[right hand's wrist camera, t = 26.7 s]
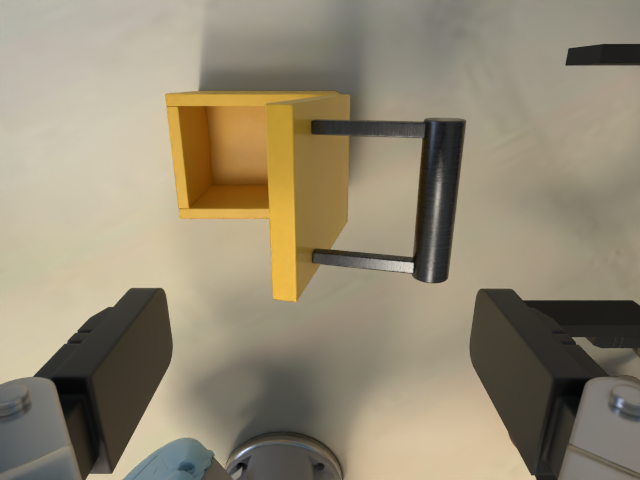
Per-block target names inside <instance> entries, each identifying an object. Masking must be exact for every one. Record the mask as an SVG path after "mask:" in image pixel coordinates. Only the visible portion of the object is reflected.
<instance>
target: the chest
mask: <svg viewBox="0 0 640 480" xmlns="http://www.w3.org/2000/svg"><path fill="white" fill-rule="evenodd" d="M331 94H340V93H338V92H337V91H192V92H181V93H169V94H165V98H166V105H167V114H168V122H169V131H170V139H171V148H172V156H173V165H174V173H175V182H176V190H177V199H178V207H179V215H180V218H181V219H270V216H269V192H268V169H267V145H266V121H265V104H266V103H273V102H280V101H288V100H295V99H302V98H310V97H317V96H324V95H331Z"/></svg>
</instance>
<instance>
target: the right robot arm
mask: <svg viewBox="0 0 640 480" xmlns="http://www.w3.org/2000/svg"><path fill="white" fill-rule="evenodd" d="M172 349H173V342H172V334H171V327H170V320H169V313H168V306H167V298H166V294H165V291H164V290H163V289H162V288H131V289H129V290H128V291H127V293H126V294H125V295H124V296H123V297H122V298H121V299H120V300H119V301H118V302H117V304H116V305H115V306H114V307H108V308H106V309H104V310H103V311H101V312H99V313H98V314H96V315H94V316H92V317H91V318H89V319H88V320H87V321H86V322H85V323H84V325H83V326H82V327H81V328H80V329H79V330H78V333H75V334H74V335H73V336H72V337H71V338H70V339H69V340H68V342H67V344H64V345H63V346H62V347H61V348H60V349H59V350H58V351H57V352H56V353H55V354H54V356H53V357H52V358H51V359H50V360H49V361H48V362H47V363H46V364H45V365H44V366H43V367H42V368H41V369H40V370H39V371H38V372H37V373H36V374H35V375H34V376H33V377H27V378H21V379H16V380H12V381H9V382H6V383H3V384H1V385H0V480H86V478H87V476H88V474H112V473H113V471H114V469H115V467H116V465H117V463H118V461H119V459H120V457H121V456H122V454H123V452H124V450H125V448H126V446H127V444H128V442H129V440H130V439H131V437H132V435H133V433H134V431H135V429H136V427H137V425H138V423H139V421H140V420H141V418H142V416H143V414H144V412H145V410H146V408H147V406H148V404H149V403H150V401H151V399H152V397H153V395H154V393H155V391H156V389H157V387H158V386H159V384H160V382H161V380H162V378H163V376H164V374H165V372H166V370H167V369H168V367H169V364H170V361H171V357H172ZM470 357H471V361H472V364H473V367H474V369H475V371H476V372H477V374H478V376H479V378H480V380H481V382H482V384H483V386H484V387H485V389H486V391H487V393H488V395H489V397H490V399H491V401H492V402H493V404H494V406H495V408H496V410H497V412H498V414H499V415H500V417H501V419H502V421H503V423H504V425H505V427H506V429H507V430H508V432H509V434H510V436H511V438H512V440H513V442H514V444H515V445H516V447H517V449H518V451H519V453H520V455H521V457H522V458H523V460H524V462H525V464H526V466H527V468H528V470H529V472H530V473H531V475H555V477H556V478H557V480H640V385H639V384H637V383H634V382H631V381H628V380H624V379H619V378H613V377H609V376H608V375H607V374H606V373H605V372H604V370H603V369H602V368H601V367H600V366H599V365H598V364H597V363H596V362H595V361H594V360H593V359H592V358H591V357H590V356H589V355H588V354H587V353H586V352H585V351H584V350H583V349H582V348H581V347H580V346H579V345H576V342H575V341H574V340H573V339H572V338H571V337H570V336H569V335H568V334H566V333H565V331H564V329H563V328H562V327H561V326H560V325H559V324H558V323H557V322H556V321H555V320H554V319H553V318H551V317H549V316H547V315H546V314H544V313H542V312H540V311H539V310H537V309H535V308H529V307H528V306H527V305H526V303H525V302H524V301H523V300H522V299H521V298H520V297H519V296H518V295H517V294H516V293H515V291H514V290H512V289H480V290H479V291H478V293H477V296H476V302H475V309H474V316H473V323H472V330H471V337H470Z"/></svg>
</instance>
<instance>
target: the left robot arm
mask: <svg viewBox="0 0 640 480" xmlns="http://www.w3.org/2000/svg"><path fill="white" fill-rule="evenodd" d="M566 65H640V44H600V45H592V46H584V47H577V48H569V49H568V54H567V60H566ZM523 301H524V302H525V303H526V305H527V306H528V307H529V308H535V309H537V310H539V311H540V312H542V313H544V314H546V315H547V316H549V317H551V318H553V319H554V320H555V321H556V322H557V323H558V324H559V325H560V326H561V327H562V328H563V329H564V331H565V333H566V334H568V335H569V336H570V337H586V338H587V339H588V340H589V341H590V342H591V343H592V344H593V345H595V346H597V347H600V348H633V351H634V353H635V354H636V355H638V356H639V357H640V305H638V304H637V303H635V302H634V301H632V300H523ZM214 456H215V455H214V453H213V452H212V451H211V450H207V449H206V448H205V447H204V446H203V445H202V444H201V443H200V442H199V441H197V440H195V439H193V438H181V439H177V440H175V441H172V442H170V443H168V444H166V445H165V446H163V447H161V448H159V449H158V450H156V451H155V452H153V453H152V454H151V455H149V456H148V457H147V458H146V459H144V460H143V461H142V462H141V463H140V464H139V465H137V466H136V467H135V468H134V469H133V470H132V471H131V472H130V473H129V474H128V475H127V476H126V477H125V478H124V479H123V480H342V476H341V469H340V466H339V463H338V461H337V459H336V458H335V456H334V455H333V454H332V453H331V452H330V450H329V449H327V448H326V447H325V446H324V445H322V444H321V443H319V442H318V441H316V440H314V439H312V438H309V437H306V436H303V435H300V434H295V433H286V432H277V433H268V434H263V435H260V436H257V437H254V438H252V439H250V440H248V441H246V442H244V443H243V444H242V445H240V446H239V447H238V448H237V449H236V450H235V451H234V452H233V453H232V455H231V456H230V458H229V460H228V462H227V464H226V468H225V469H224V468H223V467H222V466H221V465H220V463H219V462H218V461H217V460H216V459H215V458H214Z"/></svg>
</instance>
